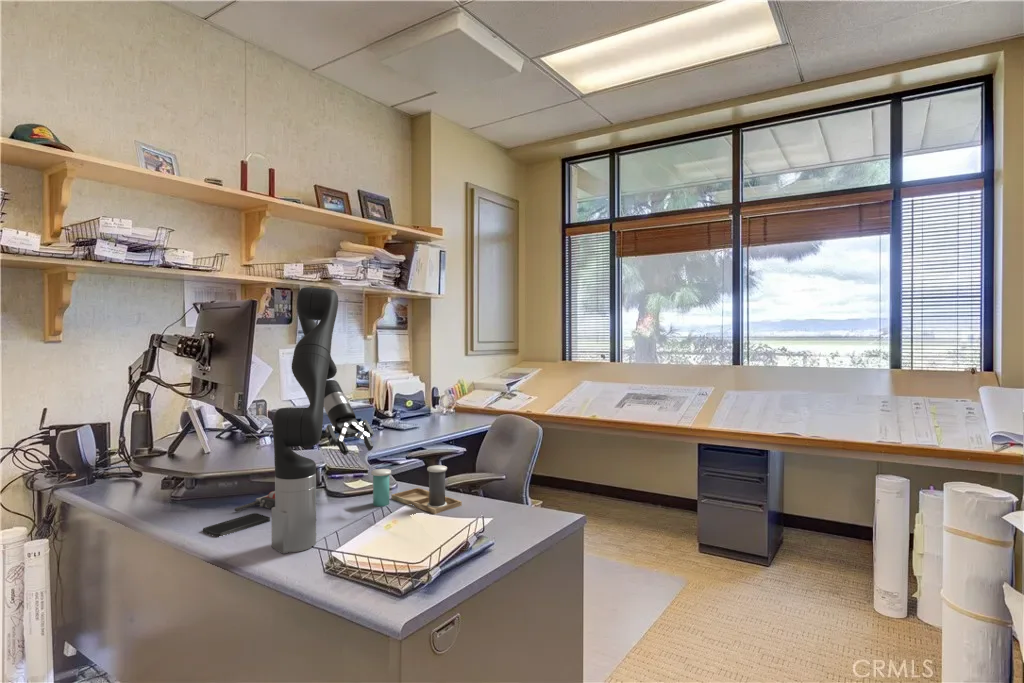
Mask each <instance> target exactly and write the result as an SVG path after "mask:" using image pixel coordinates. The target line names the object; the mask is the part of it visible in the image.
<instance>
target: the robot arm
mask: <svg viewBox="0 0 1024 683" xmlns="http://www.w3.org/2000/svg"><path fill="white" fill-rule="evenodd" d="M338 307H339V297H338V293H337V292H336V291H335V290H334V289H331V288H321V287H320V288H319V287H307V286H305V287H302V288H300V289H299V291H298V294H297V298H296V310H297V312H296V313H297V315H298V318H299V324H300V326H301V329H302V333H303V337H302V338H301V339H300V340H299V341H298V342H297V343H296V345H295V347H294V351H293V355H292V356H293V357H292V361H291V372H292V374H293V377H294V378H295V381H296V382H298V385H299V386H300V387H301V388H302V390H303V391H304V393H305V395H306V397H307V399H308V402H309V405H308V407H281V408H278V409H277V410H276V411H275V413H274V415H273V420H272V437H273V456H274V458H273V459H274V491H275V507H273V508H272V509H271V548H272V549H274V550H276V551H277V552H279V553H281V554H283V553H285V554H287V553H288V552H289V553H296V552H299V553H300V552H301V551H306V550H308V549H312V547H311V546H313V545H314V546H316V544H317V464H316V462H315V460H313V459H312V458H308V457H306V456H302V455H300V454H298V453H296V452H295V451H294V450H293V449H292V447H295V448H296V447H297V448H298V447H313V446H317V445H318V443H319V442H320V440H321V437H322V433H323V422H324V411H325V413H326V414H327V417H328V420H329V421H330V423H329V424H327V426H326V428H325V429H324V432H325V435H326V437H327V440H328V443H329V444H330V445H331V446H333V445H335V446H337V447H338V449H339V452H340V453H341V454H342V455H343V456H347V455H348V453H349V449H348V446H347V445H346V443H345V441H344V438H345V439H347V438H350V437H351V438H353V437H355V438H357V439H360V440H362V441H363V443H364V445H365V447H366V449H367V451H368V452H369V451H372V450H373V448H374V443H373V441H372V437H373V436H374V434H375V432H374V430H373V428H372V427H371V425H370V424H369V422H368V420H367V419H363V421H358V420H357V418H356V414H355V412H354V409H353V408H352V406H351V403H350V401H349V400H348V398H347V396H346V395H345V393H344V391H343V390H342V388H341V385H340V384H339V382H338V381H337V380H335V379H333V378H334V377H335V376H336V375H337V373H338V372H337V371H338V369H337V366H336V364H335V361H334V360H333V358H332V356H331V355H332V354H331V350H332V339H333V334H334V333H333V332H334V328H335V323H336V319H337V313H338ZM314 320H315V321H319V322H318V323H316V322H315V321H314ZM335 432H336V433H337V434H338V436H337V435H336V433H335ZM314 546H313V547H314Z"/></svg>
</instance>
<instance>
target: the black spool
mask: <svg viewBox="0 0 1024 683" xmlns="http://www.w3.org/2000/svg"><path fill="white" fill-rule="evenodd" d="M426 470H427V472H428V491H429V502H428V503H427V506H429V507H432V508H435V509H436V508H439V507H442V506H446V505H447V503H446V502H445V496H446V471H447V470H448V467H447V466H445V465H441V464H438V465H437V464H435V465H430V466H428V467H427V469H426Z"/></svg>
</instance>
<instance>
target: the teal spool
mask: <svg viewBox="0 0 1024 683" xmlns="http://www.w3.org/2000/svg"><path fill="white" fill-rule="evenodd" d="M370 474H371V476H372V488H373V489H372V505H373V506H374V507H381V508H382V507H386V506H387V507H388V506H389V505H390V475H391V474H392V470H391V469H388V468H378V469H377V468H376V469H373V470H372V471H370Z"/></svg>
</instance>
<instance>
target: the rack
mask: <svg viewBox="0 0 1024 683" xmlns="http://www.w3.org/2000/svg"><path fill="white" fill-rule="evenodd" d="M390 498H391V500H394V501H397V502H399V503H402V504H405V505H408V504H412V505H414V506H415V507H414V508H416V507H417V509H419V510H423V511H425V512H428V513H431V514H434V515H436V514H440V513H443V512H445V511H449V510H452V509H455V508H458V507H459V508H460V507H462V506H463V501H461V500H458V499H455V498H452V497H449V496H446V495H445V502H446V503H447V505H446V506H442V507H439V508H436V509H435V508H432V507H429V506H427V503H428V502H429V490H427V489H424V488H421V487H416V488H411V489H407V490H404V491H400V492H396V493H392V494H391V497H390Z"/></svg>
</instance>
